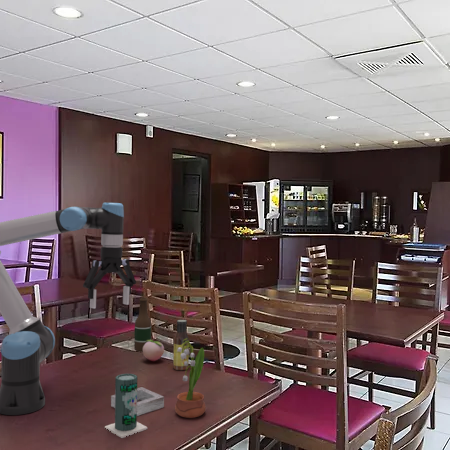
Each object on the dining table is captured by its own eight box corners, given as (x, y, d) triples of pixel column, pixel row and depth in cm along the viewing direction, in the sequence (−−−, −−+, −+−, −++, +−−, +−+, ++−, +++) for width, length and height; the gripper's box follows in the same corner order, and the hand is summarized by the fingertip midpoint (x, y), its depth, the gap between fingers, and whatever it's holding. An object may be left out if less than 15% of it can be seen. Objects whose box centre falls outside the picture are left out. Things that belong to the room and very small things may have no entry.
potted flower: (190, 425, 156) (191, 344, 155) (164, 417, 162) (165, 339, 161) (211, 412, 166) (213, 336, 166) (186, 405, 172) (188, 331, 171)
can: (129, 432, 149) (129, 381, 148) (111, 428, 151) (112, 378, 150) (139, 424, 155) (140, 375, 154) (122, 420, 157) (123, 372, 156)
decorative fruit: (138, 362, 217) (138, 339, 217) (148, 357, 225) (149, 335, 224) (156, 366, 213) (157, 342, 213) (167, 360, 221) (167, 338, 220)
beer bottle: (154, 348, 239) (155, 297, 239) (144, 352, 232) (145, 300, 231) (140, 346, 243) (141, 296, 242) (130, 350, 236) (131, 298, 235)
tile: (121, 438, 146) (121, 436, 146) (104, 428, 153) (104, 426, 153) (147, 429, 153) (147, 427, 153) (129, 419, 159) (129, 417, 159)
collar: (133, 417, 161) (133, 406, 161) (111, 406, 170) (111, 395, 169) (163, 407, 170) (164, 396, 170) (141, 396, 178) (141, 387, 178)
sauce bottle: (185, 371, 207) (186, 323, 206) (171, 370, 208) (172, 322, 208) (190, 366, 213) (191, 319, 213) (175, 365, 215) (176, 318, 214)
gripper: (134, 245, 192) (132, 301, 193) (74, 246, 174) (72, 307, 175) (146, 246, 187) (144, 304, 187) (85, 247, 169) (83, 311, 170)
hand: (109, 306), depth 181 cm, fingers open, 13 cm apart
